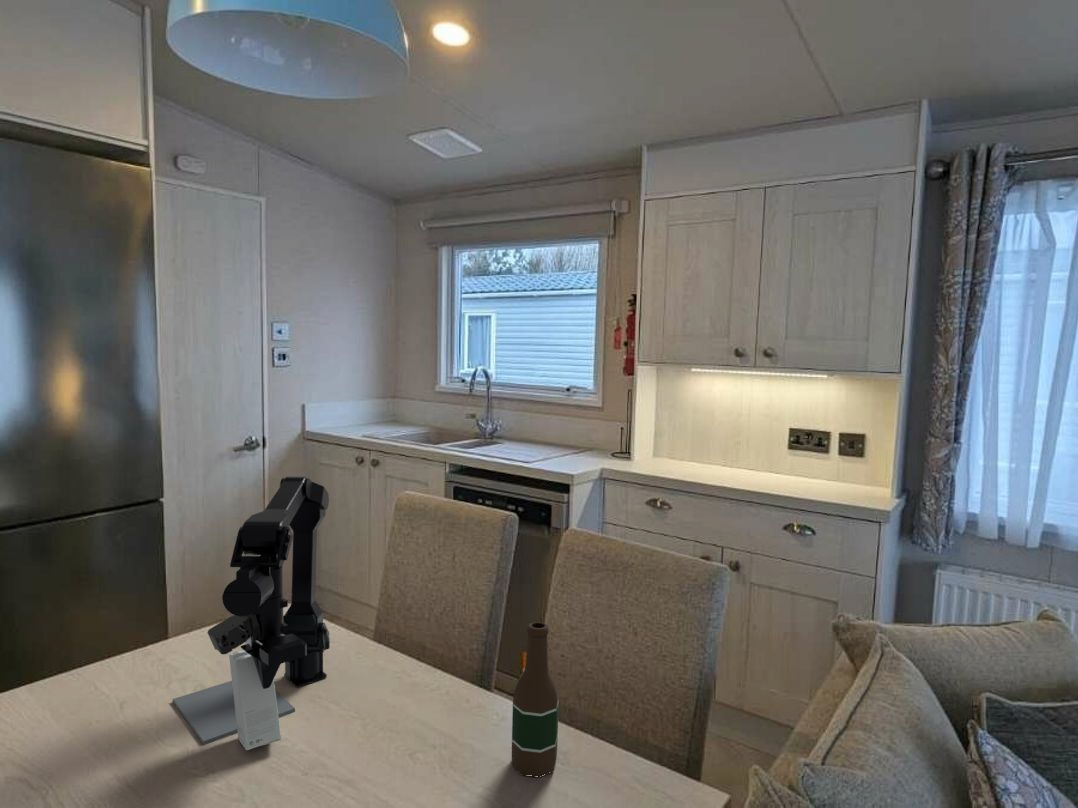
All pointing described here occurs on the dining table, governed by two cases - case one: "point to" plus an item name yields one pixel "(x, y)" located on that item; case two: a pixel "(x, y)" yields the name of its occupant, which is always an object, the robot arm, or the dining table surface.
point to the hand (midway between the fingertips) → (266, 688)
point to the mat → (217, 711)
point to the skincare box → (253, 703)
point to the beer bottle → (535, 709)
